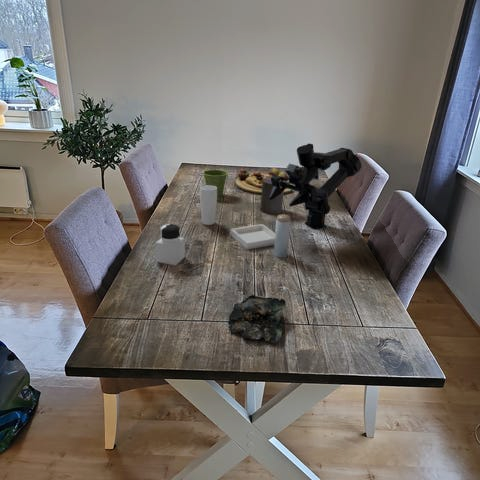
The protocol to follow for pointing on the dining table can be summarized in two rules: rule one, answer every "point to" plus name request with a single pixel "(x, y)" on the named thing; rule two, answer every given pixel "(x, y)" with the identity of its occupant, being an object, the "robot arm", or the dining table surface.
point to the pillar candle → (267, 204)
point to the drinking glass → (208, 204)
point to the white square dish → (253, 236)
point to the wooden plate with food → (257, 181)
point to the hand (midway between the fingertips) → (279, 202)
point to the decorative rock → (258, 318)
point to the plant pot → (216, 179)
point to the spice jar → (282, 236)
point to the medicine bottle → (170, 245)
